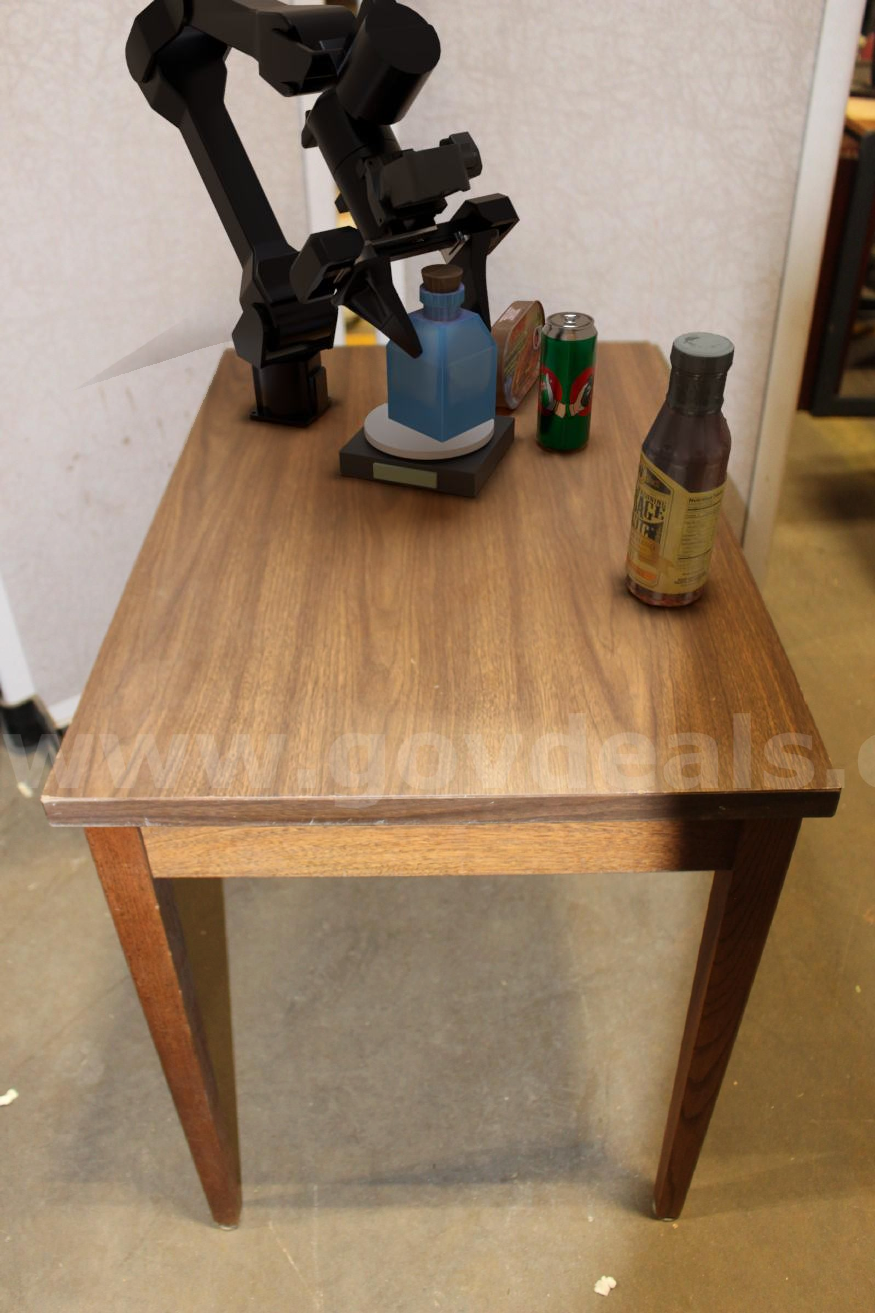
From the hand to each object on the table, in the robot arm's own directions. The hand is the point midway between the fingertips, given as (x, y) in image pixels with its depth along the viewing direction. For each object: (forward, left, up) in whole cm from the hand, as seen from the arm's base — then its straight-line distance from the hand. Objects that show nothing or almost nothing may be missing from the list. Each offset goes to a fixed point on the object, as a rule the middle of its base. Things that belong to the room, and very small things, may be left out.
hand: (453, 345), depth 83 cm
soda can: (+5, +16, -15) cm, 23 cm away
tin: (-3, +26, -15) cm, 31 cm away
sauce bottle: (+19, -6, -15) cm, 25 cm away
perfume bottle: (-1, +1, -7) cm, 7 cm away
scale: (-6, +9, -15) cm, 19 cm away
